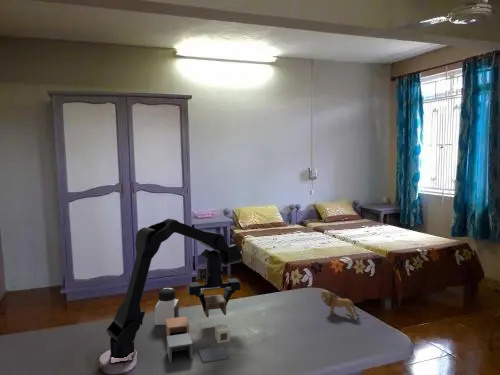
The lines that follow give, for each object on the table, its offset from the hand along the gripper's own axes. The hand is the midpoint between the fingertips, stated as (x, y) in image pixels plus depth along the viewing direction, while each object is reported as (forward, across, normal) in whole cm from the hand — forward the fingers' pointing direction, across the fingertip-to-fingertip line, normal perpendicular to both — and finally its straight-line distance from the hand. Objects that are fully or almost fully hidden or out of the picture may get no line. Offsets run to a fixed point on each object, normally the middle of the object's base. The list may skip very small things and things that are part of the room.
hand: (214, 309), depth 142 cm
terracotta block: (+6, +14, +4) cm, 16 cm away
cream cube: (+6, 0, +11) cm, 13 cm away
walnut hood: (+1, 0, 0) cm, 1 cm away
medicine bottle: (+6, +16, -9) cm, 19 cm away
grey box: (+6, +15, +17) cm, 24 cm away
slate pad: (+6, +5, +20) cm, 22 cm away
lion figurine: (+6, -47, +6) cm, 48 cm away
